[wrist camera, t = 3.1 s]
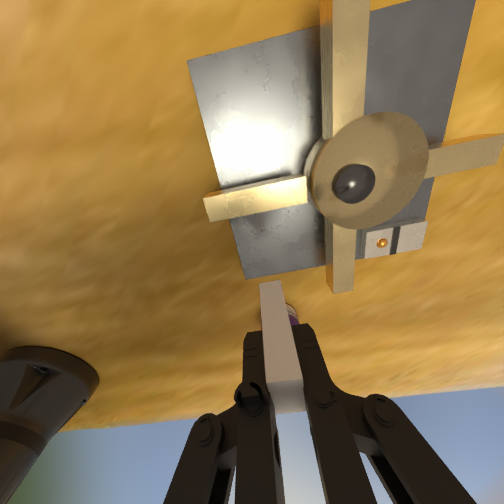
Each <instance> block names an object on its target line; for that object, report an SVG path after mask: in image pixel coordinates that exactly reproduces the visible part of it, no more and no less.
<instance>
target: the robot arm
mask: <svg viewBox="0 0 504 504" xmlns="http://www.w3.org/2000/svg"><path fill="white" fill-rule="evenodd" d="M259 289H260V303H261V318H262V330H261V331H255V332H248V333H247V334H246V337H245V339H244V343H243V377H242V383H241V384H239V386H238V387H237V389H236V391H235V394H234V400H235V402H236V403H235V405H234V406H232V407H231V408H229V409H228V410H226V411H224V412H222V413H220V414H219V415H217V416H216V415H214V414H212V413H208V414H204V415H203V416H201V417H200V418H199V419H198V420H197V421H196V422H195V423H194V425H193V427H192V429H191V431H190V434H189V436H188V439H187V442H186V444H185V447H184V450H183V452H182V455H181V458H180V460H179V463H178V466H177V468H176V471H175V473H174V476H173V479H172V482H171V484H170V487H169V489H168V492H167V495H166V497H165V500H164V503H163V504H228V501H229V496H230V491H231V486H232V481H233V476H234V471H235V466H236V482H235V504H285V496H284V487H283V477H282V467H281V457H280V448H279V437H278V430H277V426H276V418H275V414H282V413H291V412H300V411H307V414H308V419H309V424H310V432H311V435H312V440H313V444H314V448H315V453H316V458H317V463H318V467H319V473H320V477H321V482H322V487H323V491H324V496H325V501H326V504H377V501H376V499H375V496H374V493H373V490H372V487H371V485H370V482H369V479H368V476H367V473H366V471H365V468H364V465H363V462H362V459H361V457H360V454H359V452H362V453H365V454H366V456H367V458H368V459H369V461H370V463H371V465H372V466H373V468H374V470H375V472H376V474H377V475H378V477H379V479H380V481H381V482H382V484H383V486H384V488H385V490H386V491H387V493H388V495H389V497H390V498H391V500H392V502H393V504H477V503H476V502H475V501H474V500H473V498H472V497H471V496H470V495H469V493H468V492H467V491H466V490H465V488H464V487H463V486H462V485H461V483H460V482H459V481H458V480H457V478H456V477H455V476H454V475H453V473H452V472H451V471H450V470H449V469H448V467H447V466H446V465H445V464H444V462H443V461H442V460H441V459H440V457H439V456H438V455H437V454H436V452H435V451H434V450H433V449H432V447H431V446H430V445H429V444H428V442H427V441H426V440H425V439H424V437H423V436H422V435H421V434H420V433H419V431H418V430H417V429H416V427H415V426H414V425H413V424H412V423H411V421H410V420H409V419H408V418H407V416H406V415H405V414H404V413H403V411H402V410H401V409H400V408H399V407H398V406H397V405H396V404H395V403H394V402H393V401H392V400H391V399H389V398H387V397H386V396H384V395H380V394H371V395H369V396H367V397H366V398H363V397H359V396H355V395H351V394H348V393H345V392H343V391H342V390H340V389H339V388H338V387H337V386H336V385H335V384H334V383H333V382H332V380H331V378H330V376H329V373H328V370H327V367H326V364H325V361H324V358H323V356H322V353H321V350H320V347H319V344H318V341H317V338H316V335H315V333H314V330H313V329H312V328H311V327H310V326H309V324H308V323H305V324H299V325H292V326H291V325H290V321H289V316H288V312H287V308H286V303H285V299H284V295H283V290H282V286H281V281H280V280H277V281H271V282H265V283H259ZM98 383H99V380H98V376H97V374H96V373H95V371H94V370H93V369H92V368H91V367H90V366H89V365H87V364H86V363H85V362H83V361H82V360H80V359H78V358H76V357H74V356H72V355H70V354H67V353H64V352H61V351H58V350H54V349H49V348H43V347H20V348H15V349H12V350H10V351H8V352H7V353H5V354H4V355H3V356H2V357H1V358H0V504H8V502H9V501H10V499H11V498H12V496H13V495H14V493H15V492H16V490H17V489H18V487H19V486H20V484H21V483H22V481H23V480H24V478H25V477H26V475H27V474H28V472H29V471H30V469H31V468H32V466H33V464H34V463H35V462H36V460H37V458H38V457H39V455H40V454H41V453H42V451H43V449H44V448H45V446H46V445H47V443H48V442H49V441H50V439H51V438H52V437H53V436H54V435H55V434H56V433H57V432H58V431H59V430H60V429H61V428H62V427H63V426H64V425H65V424H66V423H67V422H68V421H69V420H70V419H71V418H72V417H73V416H74V415H75V414H76V413H77V411H78V410H79V409H80V408H81V407H82V406H84V405H85V404H86V403H87V402H88V400H89V399H90V398H91V396H92V394H93V393H94V391H95V390H96V388H97V386H98Z"/></svg>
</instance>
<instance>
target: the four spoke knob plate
mask: <svg viewBox="0 0 504 504" xmlns="http://www.w3.org/2000/svg"><path fill="white" fill-rule="evenodd" d="M319 2H320V44H321V86H322V128H323V135H322V136H321V137H320V138H319V140H318V141H317V142H316V143H315V145H314V146H313V148H312V149H311V151H310V153H309V155H308V157H307V160H306V163H305V167H304V173H303V175H302V174H300V173H298V174H294V175H289V176H284V177H280V178H275V179H270V180H266V181H261V182H257V183H252V184H247V185H243V186H238V187H233V188H229V189H224V190H220V191H215V192H210V193H207V194H206V195H205V196H204V198H203V201H204V204H205V208H206V211H207V214H208V217H209V220H210V223H211V222H216V221H221V220H226V219H231V218H235V217H240V216H245V215H250V214H255V213H260V212H265V211H270V210H274V209H279V208H284V207H289V206H294V205H299V204H304V203H308V202H307V198H308V200H309V201H310V203H311V204H312V205H313V206H314V207H315V208H316V209H317V210H318V211H319V212H320V213H321V214H323V215H324V216H325V253H326V283H327V284H328V286H329V288H330V289H331V291H332V293H333V294H336V293H342V292H348V291H353V282H354V266H355V249H356V232H357V229H366V228H370V227H374V226H377V225H379V224H381V223H383V222H385V221H387V220H389V219H390V218H392V217H393V216H395V215H396V214H397V213H399V212H400V211H401V210H402V209H403V208H404V207H405V206H406V205H407V204H408V203H409V202H410V201H411V199H412V198H413V197H414V195H415V194H416V192H417V191H418V189H419V187H420V185H421V183H422V181H423V179H426V178H431V177H435V176H440V175H445V174H450V173H455V172H460V171H465V170H470V169H474V168H479V167H484V166H489V165H494V164H496V163H497V160H498V157H499V155H500V152H501V149H502V147H503V144H504V133H501V134H482V135H474V136H469V137H465V138H460V139H455V140H451V141H446V142H441V143H437V144H432V145H428V143H427V139H426V136H425V134H424V132H423V130H422V128H421V127H420V126H419V124H418V123H417V122H416V121H414V120H413V119H412V118H410V117H409V116H407V115H404V114H401V113H397V112H378V113H374V114H370V115H366V116H364V99H365V83H366V66H367V49H368V33H369V16H370V0H319Z"/></svg>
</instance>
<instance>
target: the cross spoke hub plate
mask: <svg viewBox="0 0 504 504" xmlns="http://www.w3.org/2000/svg"><path fill="white" fill-rule="evenodd" d="M475 1H476V0H411V1H407V2H404V3H400V4H396V5H392V6H389V7H385V8H381V9H377V10H374V11H370V16H369V33H368V49H367V66H366V83H365V99H364V116H366V115H370V114H374V113H378V112H397V113H401V114H404V115H407V116H409V117H410V118H412V119H413V120H414V121H416V122H417V123H418V124H419V126H420V127H421V128H422V130H423V132H424V134H425V136H426V139H427V143H428V145H432V144H437V143H441V142H443V138H444V134H445V130H446V125H447V121H448V117H449V113H450V108H451V104H452V100H453V95H454V91H455V87H456V83H457V78H458V74H459V70H460V65H461V61H462V57H463V53H464V48H465V44H466V40H467V35H468V31H469V27H470V23H471V18H472V14H473V10H474V5H475ZM187 64H188V67H189V71H190V75H191V78H192V82H193V86H194V90H195V93H196V97H197V101H198V104H199V108H200V112H201V116H202V119H203V123H204V127H205V130H206V134H207V138H208V142H209V145H210V149H211V153H212V156H213V160H214V164H215V168H216V171H217V175H218V179H219V182H220V186H221V190H224V189H229V188H233V187H238V186H243V185H247V184H252V183H257V182H261V181H266V180H270V179H275V178H280V177H284V176H289V175H294V174H298V173H300V174H302V175H303V173H304V167H305V163H306V160H307V157H308V155H309V153H310V151H311V149H312V148H313V146H314V145H315V143H316V142H317V141H318V140H319V138H320V137H321V136H322V135H323V128H322V86H321V44H320V25H318V26H314V27H310V28H307V29H303V30H299V31H295V32H292V33H288V34H284V35H281V36H277V37H273V38H269V39H266V40H262V41H258V42H255V43H251V44H247V45H243V46H240V47H236V48H232V49H228V50H225V51H221V52H217V53H214V54H210V55H206V56H202V57H199V58H195V59H191V60H187ZM433 181H434V177H431V178H426V179H423V181H422V183H421V185H420V187H419V189H418V191H417V192H416V194H415V195H414V197H413V198H412V199H411V201H410V202H409V203H408V204H407V205H406V206H405V207H404V208H403V209H402V210H401V211H400V212H399V213H397V214H396V215H395V216H393V217H392V218H390V219H389V220H387V221H385V222H383V223H381V224H379V225H377V226H374V227H370V228H366V229H357V232H356V249H355V260H356V259H362V258H364V259H367V258H372V257H378V256H384V255H389V254H390V255H392V254H396V253H400V252H406V251H411V250H417V249H421V248H422V244H423V240H424V236H425V231H426V227H427V223H428V221H427V220H425V215H426V211H427V207H428V203H429V198H430V194H431V190H432V185H433ZM307 202H308V203H304V204H299V205H294V206H289V207H284V208H279V209H274V210H270V211H265V212H260V213H255V214H250V215H245V216H240V217H235V218H231V219H229V220H230V223H231V227H232V231H233V234H234V238H235V242H236V246H237V249H238V253H239V257H240V260H241V264H242V268H243V272H244V275H245V279H251V278H257V277H262V276H268V275H274V274H279V273H285V272H290V271H296V270H301V269H307V268H312V267H318V266H323V265H326V253H325V216H324V215H323V214H321V213H320V212H319V211H318V210H317V209H316V208H315V207H314V206H313V205H312V204H311V203H310V201H309V200H308V198H307Z"/></svg>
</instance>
